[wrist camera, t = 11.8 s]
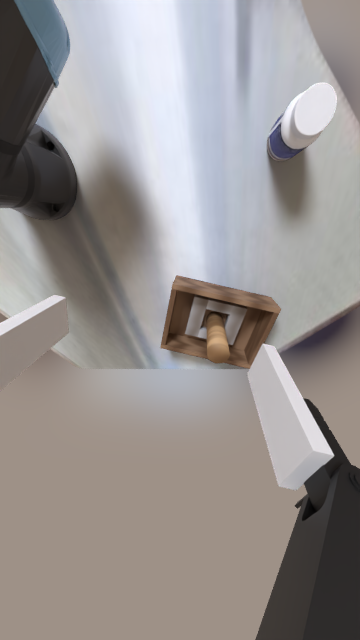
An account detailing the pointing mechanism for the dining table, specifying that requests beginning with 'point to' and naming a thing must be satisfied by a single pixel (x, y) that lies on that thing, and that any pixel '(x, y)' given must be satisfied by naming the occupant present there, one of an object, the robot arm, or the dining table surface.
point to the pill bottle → (302, 121)
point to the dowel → (216, 338)
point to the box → (238, 315)
